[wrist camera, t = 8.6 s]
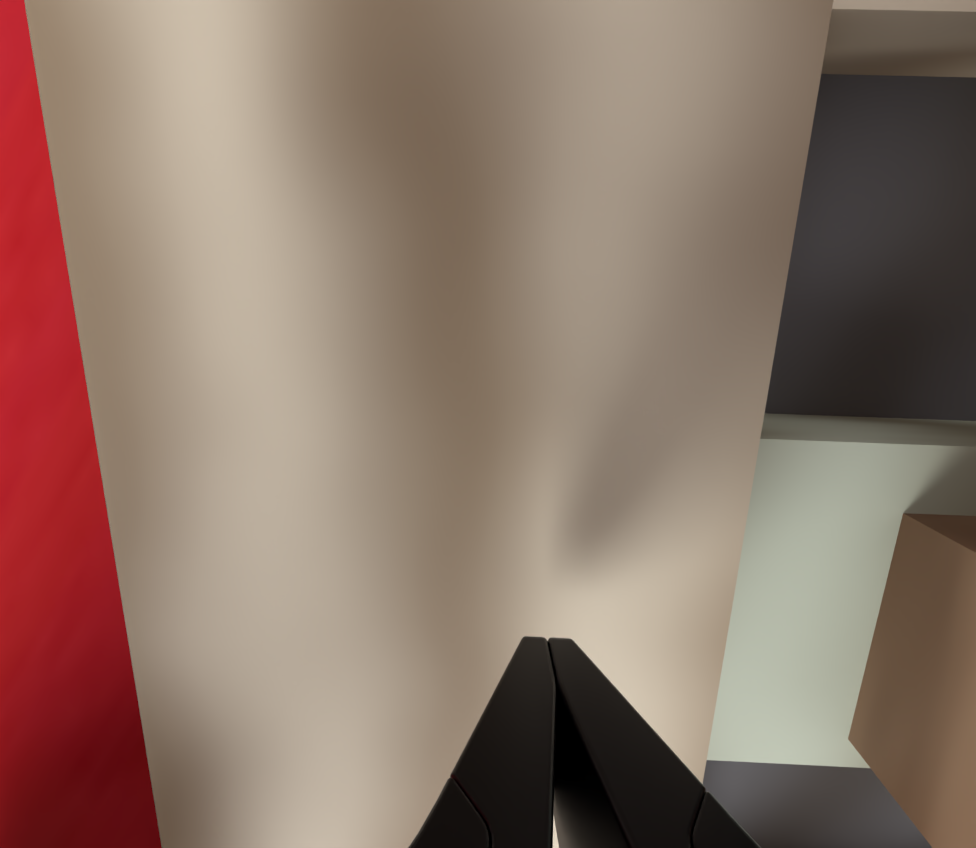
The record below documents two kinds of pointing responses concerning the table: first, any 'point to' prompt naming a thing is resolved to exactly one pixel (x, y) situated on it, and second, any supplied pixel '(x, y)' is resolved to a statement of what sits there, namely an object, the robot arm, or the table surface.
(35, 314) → the table surface
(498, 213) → the board
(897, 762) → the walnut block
